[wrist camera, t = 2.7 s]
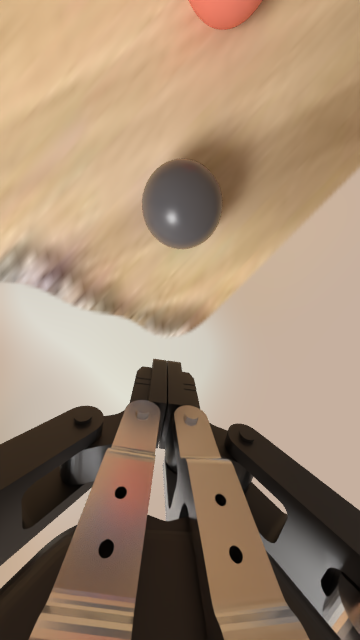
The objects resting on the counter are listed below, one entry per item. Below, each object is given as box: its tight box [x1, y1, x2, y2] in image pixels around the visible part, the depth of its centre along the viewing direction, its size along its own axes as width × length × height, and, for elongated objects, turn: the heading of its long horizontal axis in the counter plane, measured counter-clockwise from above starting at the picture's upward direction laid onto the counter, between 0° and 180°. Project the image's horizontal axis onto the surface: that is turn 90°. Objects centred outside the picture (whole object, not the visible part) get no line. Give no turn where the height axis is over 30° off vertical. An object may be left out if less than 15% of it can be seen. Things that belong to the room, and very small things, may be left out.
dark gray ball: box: [142, 159, 222, 249], centre depth 17 cm, size 6×6×6 cm
